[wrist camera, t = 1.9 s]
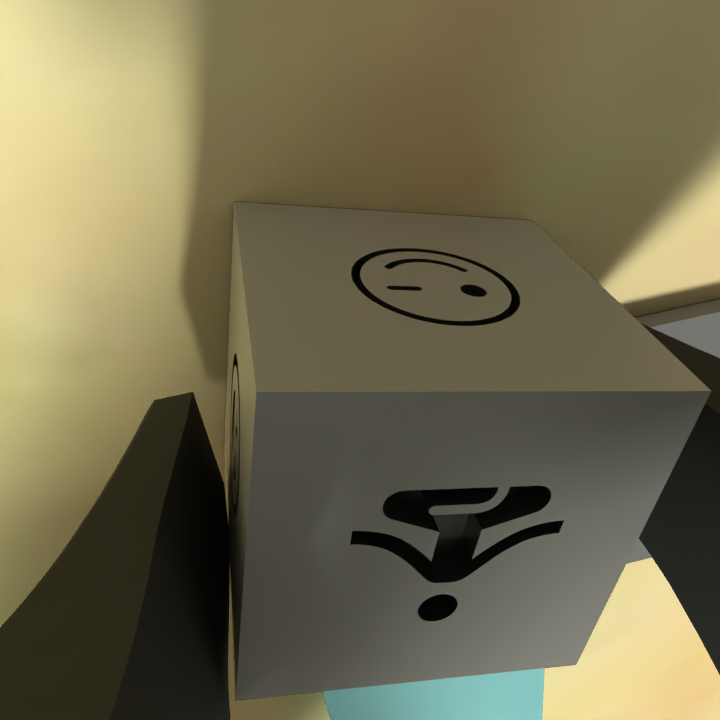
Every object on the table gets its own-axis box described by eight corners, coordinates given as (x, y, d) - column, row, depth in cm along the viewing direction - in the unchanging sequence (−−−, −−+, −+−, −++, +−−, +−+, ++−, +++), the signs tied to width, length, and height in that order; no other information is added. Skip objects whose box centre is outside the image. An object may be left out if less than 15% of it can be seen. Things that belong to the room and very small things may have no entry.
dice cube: (532, 220, 12) (711, 390, 8) (468, 447, 14) (575, 664, 10) (233, 201, 11) (256, 391, 6) (223, 453, 13) (235, 701, 9)
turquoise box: (499, 680, 20) (544, 796, 17) (345, 721, 19) (367, 846, 17) (495, 481, 15) (555, 598, 12) (292, 529, 15) (312, 660, 12)
